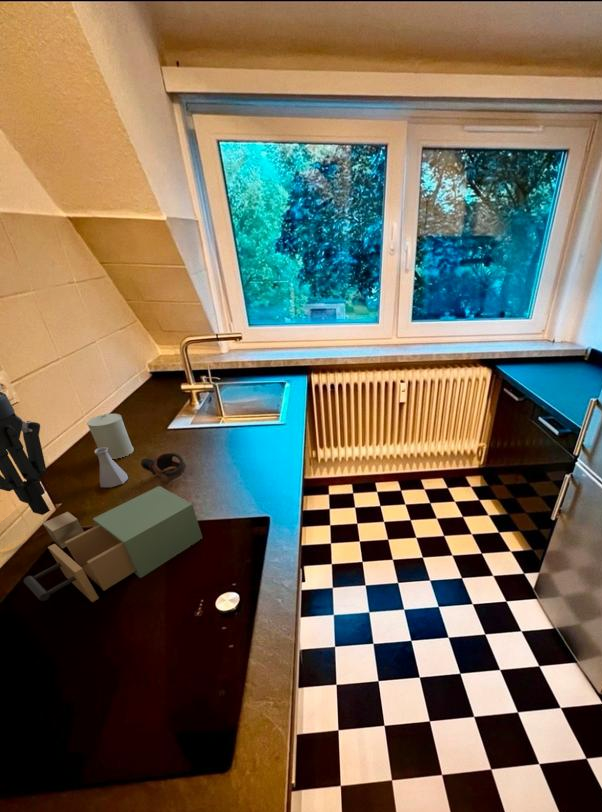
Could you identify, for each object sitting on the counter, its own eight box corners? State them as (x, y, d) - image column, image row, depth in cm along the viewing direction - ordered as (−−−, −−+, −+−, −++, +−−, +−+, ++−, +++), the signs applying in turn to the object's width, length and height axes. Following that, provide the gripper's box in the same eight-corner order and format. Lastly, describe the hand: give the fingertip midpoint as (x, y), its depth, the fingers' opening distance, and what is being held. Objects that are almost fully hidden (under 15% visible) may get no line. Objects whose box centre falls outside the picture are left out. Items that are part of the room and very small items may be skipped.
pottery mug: (190, 465, 116) (188, 450, 109) (184, 493, 111) (182, 478, 104) (146, 460, 112) (141, 444, 106) (138, 488, 107) (132, 473, 101)
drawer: (57, 624, 67) (36, 594, 63) (31, 595, 73) (10, 565, 69) (160, 559, 80) (148, 530, 76) (131, 538, 86) (119, 511, 82)
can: (133, 443, 127) (120, 409, 121) (134, 455, 120) (121, 419, 114) (101, 450, 123) (86, 415, 117) (101, 463, 117) (85, 426, 110)
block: (62, 548, 85) (52, 531, 82) (52, 540, 87) (42, 522, 85) (86, 536, 88) (77, 519, 86) (76, 528, 91) (67, 511, 88)
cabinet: (140, 578, 77) (124, 542, 72) (109, 553, 83) (92, 518, 78) (202, 538, 87) (192, 504, 82) (171, 518, 93) (159, 485, 88)
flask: (103, 476, 110) (89, 445, 105) (131, 472, 112) (118, 441, 106) (96, 490, 104) (81, 458, 99) (126, 485, 106) (113, 453, 100)
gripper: (-58, 414, 57) (20, 536, 70) (31, 386, 67) (85, 497, 80) (-89, 408, 59) (-8, 527, 72) (2, 382, 69) (59, 490, 82)
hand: (41, 511), depth 76 cm, fingers closed
